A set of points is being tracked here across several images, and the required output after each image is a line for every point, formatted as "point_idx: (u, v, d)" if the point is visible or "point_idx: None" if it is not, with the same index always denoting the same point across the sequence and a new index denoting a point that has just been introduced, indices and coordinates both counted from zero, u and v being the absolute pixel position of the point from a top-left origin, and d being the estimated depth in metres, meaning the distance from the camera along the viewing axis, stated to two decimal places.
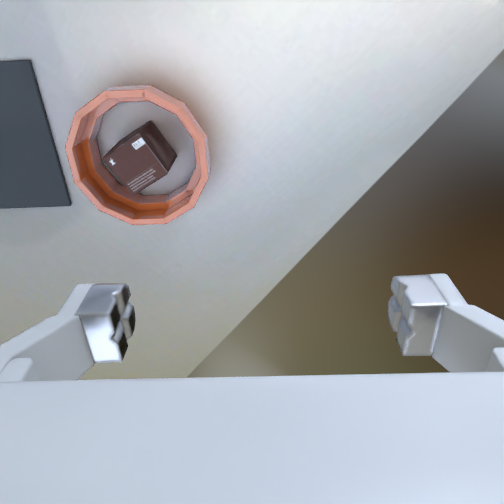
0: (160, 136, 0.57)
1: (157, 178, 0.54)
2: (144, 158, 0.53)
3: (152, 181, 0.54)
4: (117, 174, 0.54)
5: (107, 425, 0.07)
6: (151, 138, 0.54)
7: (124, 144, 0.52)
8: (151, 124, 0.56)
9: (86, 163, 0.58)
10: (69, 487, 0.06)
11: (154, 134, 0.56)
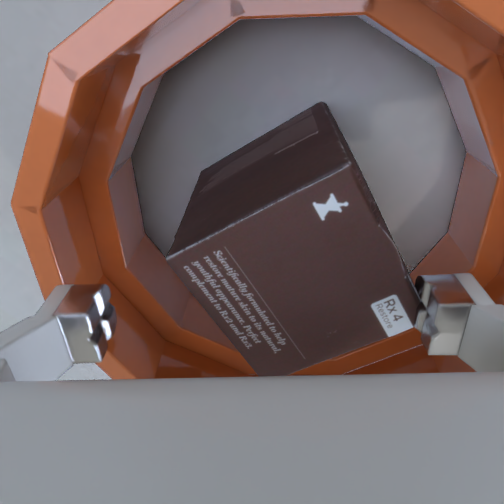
0: None
1: (245, 354, 0.14)
2: (328, 326, 0.13)
3: (232, 337, 0.14)
4: (266, 217, 0.11)
5: (107, 425, 0.07)
6: None
7: (399, 267, 0.12)
8: None
9: None
10: (68, 487, 0.06)
11: None
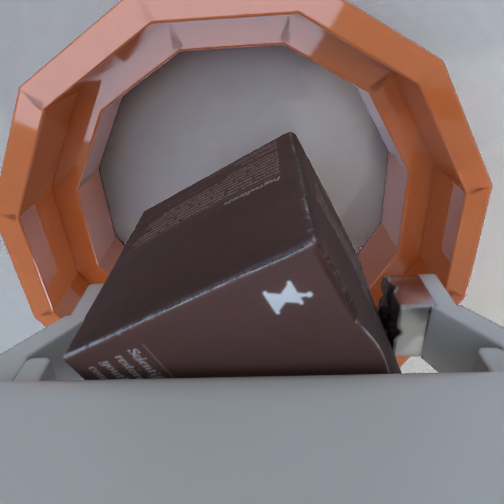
0: None
1: None
2: None
3: None
4: (197, 309, 0.08)
5: (107, 425, 0.07)
6: None
7: (384, 372, 0.09)
8: None
9: (206, 20, 0.15)
10: (68, 487, 0.06)
11: None
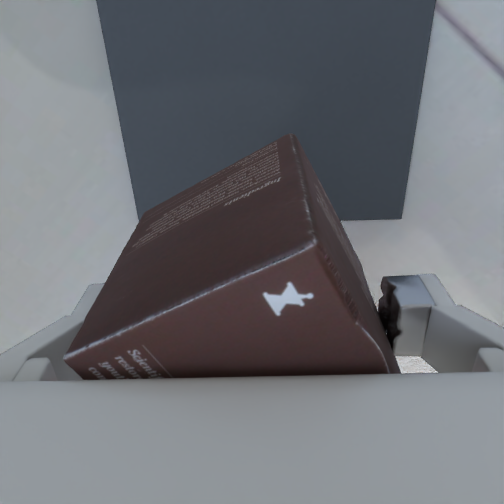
0: None
1: None
2: None
3: None
4: (198, 310, 0.08)
5: (107, 425, 0.07)
6: None
7: (384, 373, 0.09)
8: None
9: None
10: (68, 487, 0.06)
11: None
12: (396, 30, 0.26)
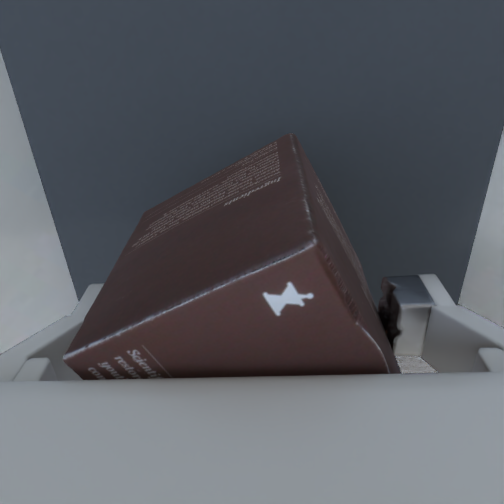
0: None
1: None
2: None
3: None
4: (198, 310, 0.08)
5: (107, 425, 0.07)
6: None
7: (384, 373, 0.09)
8: None
9: None
10: (68, 487, 0.06)
11: None
12: (457, 104, 0.17)
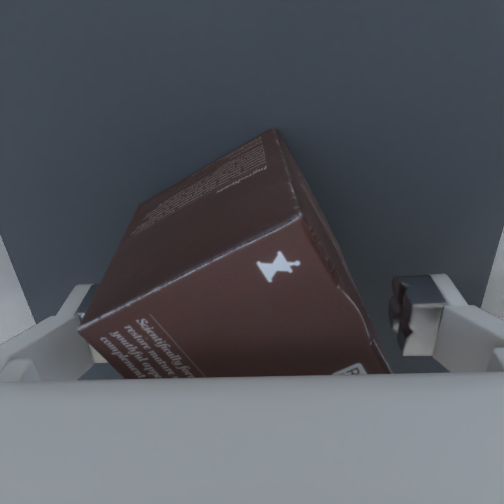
0: None
1: None
2: None
3: None
4: (199, 280, 0.09)
5: (107, 425, 0.07)
6: None
7: (363, 332, 0.10)
8: None
9: None
10: (68, 487, 0.06)
11: None
12: (471, 128, 0.15)
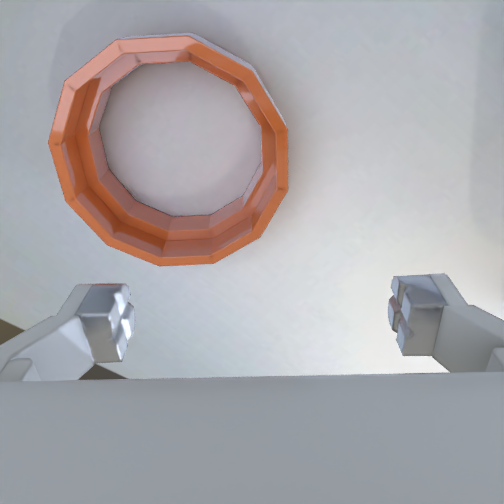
0: None
1: None
2: None
3: None
4: None
5: (107, 425, 0.07)
6: None
7: None
8: None
9: None
10: (68, 486, 0.06)
11: None
12: None
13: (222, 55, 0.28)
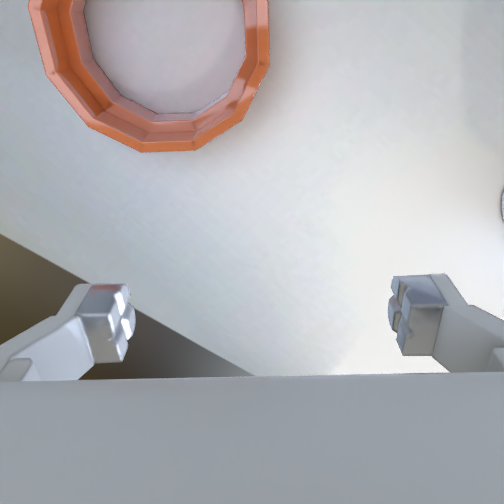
0: None
1: None
2: None
3: None
4: None
5: (107, 425, 0.07)
6: None
7: None
8: None
9: None
10: (68, 486, 0.06)
11: None
12: None
13: None
